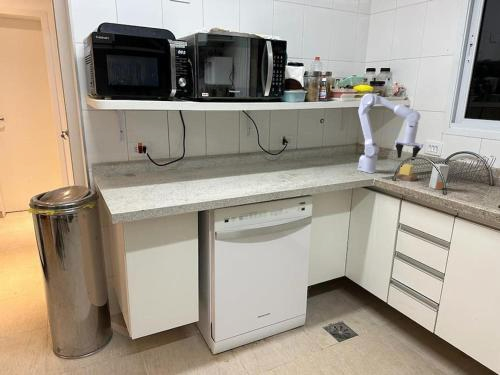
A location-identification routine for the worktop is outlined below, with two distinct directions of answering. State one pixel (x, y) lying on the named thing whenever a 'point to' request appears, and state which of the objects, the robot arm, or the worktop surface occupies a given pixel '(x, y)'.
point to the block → (407, 169)
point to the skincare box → (438, 176)
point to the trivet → (406, 177)
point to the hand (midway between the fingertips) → (405, 158)
